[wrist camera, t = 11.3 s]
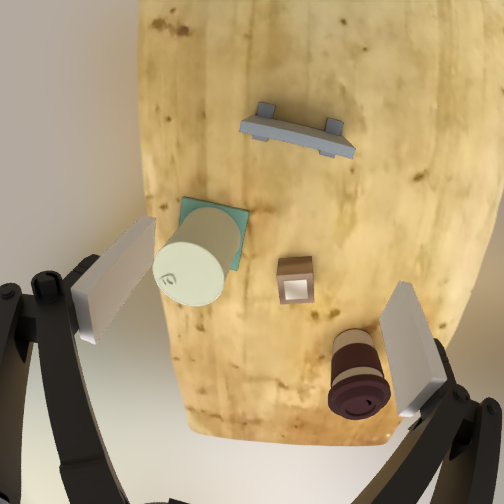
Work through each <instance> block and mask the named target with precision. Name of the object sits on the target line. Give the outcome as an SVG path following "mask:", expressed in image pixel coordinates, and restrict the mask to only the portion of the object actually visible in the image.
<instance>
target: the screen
mask: <svg viewBox="0 0 504 504" xmlns="http://www.w3.org/2000/svg"><path fill="white" fill-rule="evenodd" d="M274 110H275V105H273V104H268V103H263V102H259V107H258V112H257V115H253V116H250V117H248V118H246V119H244V120H242V121H241V124H240V130H239V132H242V133H247V134H252V135H253V137H252V139H256V140H261V141H266V142H267V141H268V138H271V139H275V140H280V141H284V142H289V143H293V144H297V145H301V146H305V147H309V148H313V149H317V150H320V152H319V154H320V155H324V156H328V157H331V158H335V154H336V155H339V156H343V157H346V158H350V159H353V156H354V153H355V149H356V148H355V147H354V146H353V145H351V144H350V143H349V142H348V141H347V140H346V139H345V138H344V137H343V136H340V135H341V131H342V127H343V123H344V122H342V121H338V120H334V119H331V118H328V120H327V124H326V128H325V131H322V130H318V129H314V128H310V127H306V126H302V125H298V124H294V123H290V122H285V121H281V120H276V119H273V114H274Z"/></svg>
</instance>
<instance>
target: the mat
mask: <svg viewBox="0 0 504 504" xmlns="http://www.w3.org/2000/svg"><path fill="white" fill-rule="evenodd" d="M202 207H214V208H218V209H220V210H223V211H224V212H226V213H228V214H229V215H230V216H231V217H232V218H233V219H234V220H235V222H236V223H237V225H238V227H239V230H240V234H241V242H240V246H239V249H238V251H237V252H236V254H235V256H234V258H233V261H232V263H231V266H230V270H235V271H237V270H238V265H239V260H240V255H241V250H242V245H243V240H244V235H245V230H246V226H247V221H248V216H249V211H247V210H243V209H239V208H234V207H230V206H225V205H221V204H216V203H211V202H207V201H202V200H197V199H193V198H188V197H182V202H181V212H180V221H179V227H180V226H181V224H182V223H183V221H184V219H185V218H186V216H187V215H188V214H189V213H191V212H192V211H194V210H196V209H198V208H202Z"/></svg>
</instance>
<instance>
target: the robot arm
mask: <svg viewBox="0 0 504 504" xmlns="http://www.w3.org/2000/svg"><path fill="white" fill-rule="evenodd" d="M155 228H156V218H153V217H149V216H145V215H142V216H141V217H140V218H139V219H138V220H137V221H136V222H135V223H134V224H133V225H132V226H131V227H130V228H129V229H128V230H127V231H126V232H125V233H124V234H123V235H122V236H121V237H120V238H119V239H117V241H115V242H114V243H113V244H112V245H111V246H110V248H108V249H107V250H106V252H104V254H103V255H102V256H98V255H95V254H92V255H90V256H88V257H86V258H84V259H83V260H82V261H81V262H80V263H79V264H78V266H76V267H75V268H74V269H73V271H71V272H70V273H69V274H68V275H67V276H66V277H65V278H64V279H63V280H62V277H61V275H60V274H59V273H57V272H55V271H43V272H40V273H38V274H36V275H35V276H34V277H33V278H32V281H31V286H32V290H33V294H34V295H28V294H22V291H21V288H20V286H19V285H17V284H15V283H6V284H4V285H1V286H0V504H20V500H21V446H22V427H23V415H24V404H25V395H26V386H27V380H28V373H29V366H30V360H31V355H32V349H33V343H34V342H35V343H38V349H39V358H40V366H41V372H42V380H43V386H44V391H45V398H46V403H47V408H48V413H49V418H50V422H51V427H52V431H53V435H54V440H55V443H56V447H57V451H58V454H59V458H60V463H61V464H60V467H59V469H60V474H61V478H62V481H63V484H64V487H65V490H66V493H67V496H68V499H69V502H70V504H130V503H129V501H128V499H127V497H126V494H125V492H124V490H123V488H122V486H121V484H120V482H119V480H118V477H117V475H116V472H115V470H114V468H113V466H112V463H111V460H110V458H109V455H108V452H107V450H106V447H105V445H104V442H103V439H102V436H101V433H100V430H99V427H98V424H97V421H96V418H95V415H94V412H93V408H92V405H91V402H90V398H89V395H88V391H87V388H86V384H85V380H84V376H83V373H82V369H81V365H80V360H79V356H78V351H77V347H76V342H75V338H74V335H75V333H76V332H77V331H78V329H79V333H80V337H81V339H83V340H86V341H88V342H91V343H93V344H95V345H96V343H97V342H98V340H99V339H100V337H101V336H102V334H103V333H104V331H105V330H106V329H107V327H108V325H109V324H110V323H111V321H112V320H113V318H114V317H115V315H116V314H117V312H118V311H119V310H120V308H121V307H122V305H123V304H124V303H125V301H126V299H127V298H128V297H129V296H130V294H131V292H132V291H133V290H134V288H135V287H136V286H137V284H138V283H139V282H140V280H141V279H142V277H143V276H144V275H145V273H146V272H147V271H148V269H149V268H150V267H151V265H152V264H153V263H154V245H155ZM379 321H380V325H381V330H382V334H383V339H384V343H385V348H386V352H387V357H388V362H389V367H390V372H391V377H392V383H393V388H394V394H395V399H396V405H397V412H398V416H406V417H412V416H413V415H414V414H415V413H416V412H417V411H418V410H419V409H420V413H421V417H420V418H419V419H418V420H417V421H416V422H415V423H414V424H412V426H411V427H409V428H408V430H410V429H411V430H410V431H409V433H408V434H407V435H406V437H405V438H404V440H403V441H402V442H401V444H400V445H399V447H398V448H397V449H396V451H395V452H394V453H393V454H392V456H391V457H390V459H389V460H388V461H387V462H386V464H385V465H384V466H383V467H382V469H381V470H380V471H379V473H377V475H376V476H375V477H374V478H373V479H372V481H371V482H370V483H369V484H368V485H367V486H366V488H365V489H364V490H363V491H362V492H361V493H360V494H359V496H358V497H357V498H356V499H355V500H354V501H353V502H352V503H351V504H416V503H417V502H418V500H419V499H420V497H421V496H422V494H423V493H424V491H425V489H426V488H427V486H428V485H429V483H430V481H431V480H432V478H433V476H434V474H435V473H436V471H437V469H438V468H439V466H440V464H441V462H442V460H443V462H442V466H441V469H440V473H439V476H438V480H437V483H436V487H435V490H434V493H433V496H432V499H431V502H430V504H492V503H493V497H494V491H495V486H496V479H497V472H498V464H499V455H500V444H501V430H502V409H501V407H500V405H499V403H498V402H497V401H496V400H494V399H493V398H490V397H488V398H486V399H484V400H483V401H482V402H481V403H478V402H476V401H473V400H471V399H470V395H469V394H468V392H467V390H466V389H465V388H464V387H462V386H461V385H459V384H457V383H456V381H455V377H454V374H453V372H452V369H451V366H450V363H449V360H448V357H446V352H445V349H444V347H443V345H442V344H441V343H440V341H439V340H438V339H435V338H433V336H432V333H431V331H430V328H429V325H428V323H427V320H426V318H425V315H424V313H423V310H422V308H421V305H420V303H419V300H418V298H417V296H416V293H415V291H414V289H413V286H412V284H411V283H407V282H404V281H399V283H398V284H397V286H396V288H395V290H394V292H393V294H392V296H391V298H390V300H389V301H388V303H387V305H386V307H385V309H384V311H383V312H382V314H381V316H380V318H379ZM146 504H188V503H185V502H182V501H178V500H174V499H171V498H169V502H168V503H165V502H156V503H155V502H154V503H146Z"/></svg>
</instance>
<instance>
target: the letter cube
mask: <svg viewBox="0 0 504 504" xmlns="http://www.w3.org/2000/svg"><path fill="white" fill-rule="evenodd" d="M277 283H278V290H279V298H280V304H297V303H313V302H314V283H313V268H312V256H307V257H294V258H280V259H279V261H278V269H277Z"/></svg>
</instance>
